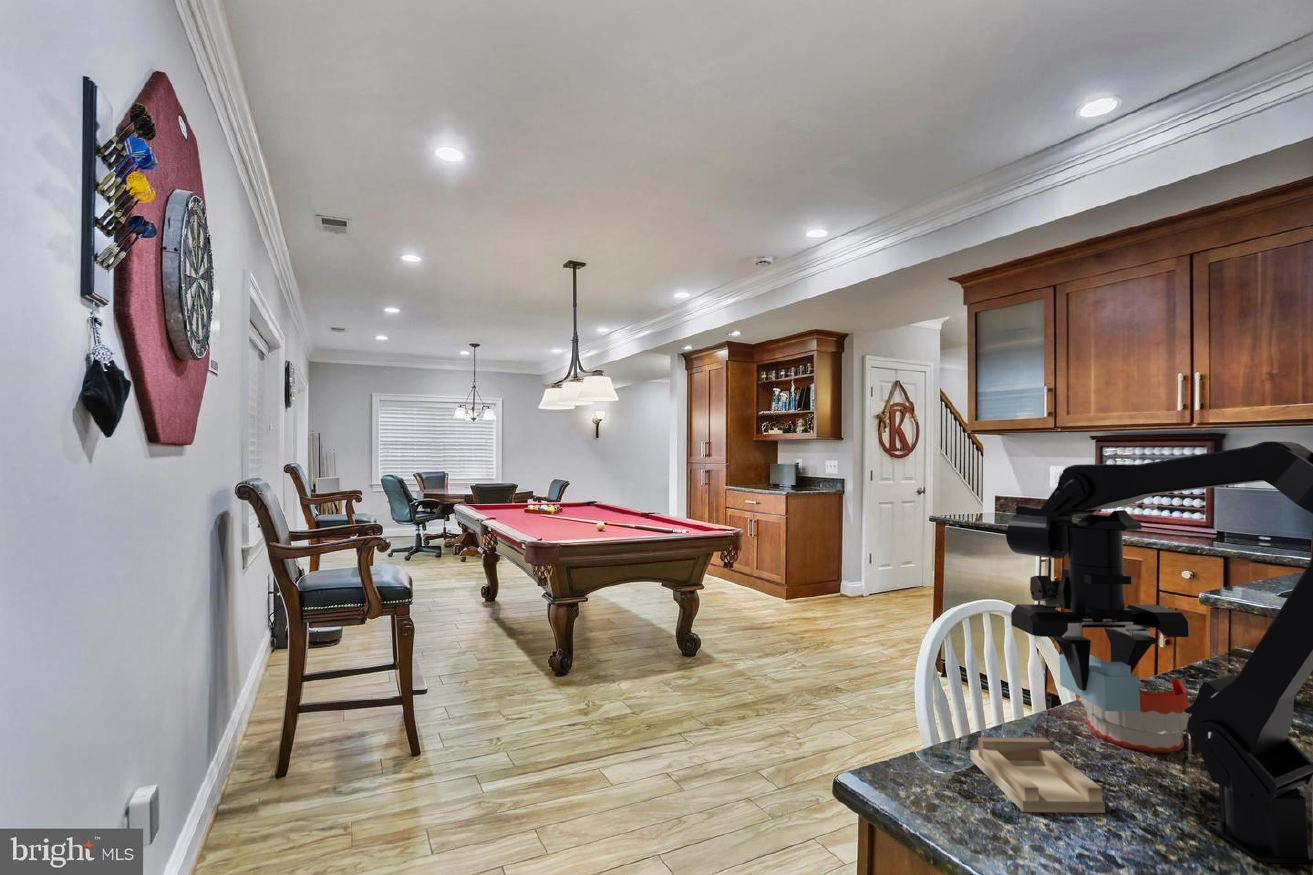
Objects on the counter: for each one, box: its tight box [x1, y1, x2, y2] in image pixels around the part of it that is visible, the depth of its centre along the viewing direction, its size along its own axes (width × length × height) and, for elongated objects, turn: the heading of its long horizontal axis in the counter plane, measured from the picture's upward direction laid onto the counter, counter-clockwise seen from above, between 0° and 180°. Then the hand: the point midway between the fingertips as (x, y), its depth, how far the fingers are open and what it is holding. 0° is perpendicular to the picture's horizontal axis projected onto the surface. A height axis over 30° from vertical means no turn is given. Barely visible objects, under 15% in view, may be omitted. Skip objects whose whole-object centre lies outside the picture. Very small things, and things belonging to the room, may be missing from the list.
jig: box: [969, 736, 1106, 814], centre depth 79 cm, size 13×9×4 cm
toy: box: [1079, 678, 1190, 754], centre depth 91 cm, size 12×10×8 cm
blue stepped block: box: [1059, 653, 1141, 711], centre depth 81 cm, size 9×4×5 cm, turn 178°
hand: (1099, 689), depth 81 cm, fingers closed on blue stepped block, 4 cm apart
